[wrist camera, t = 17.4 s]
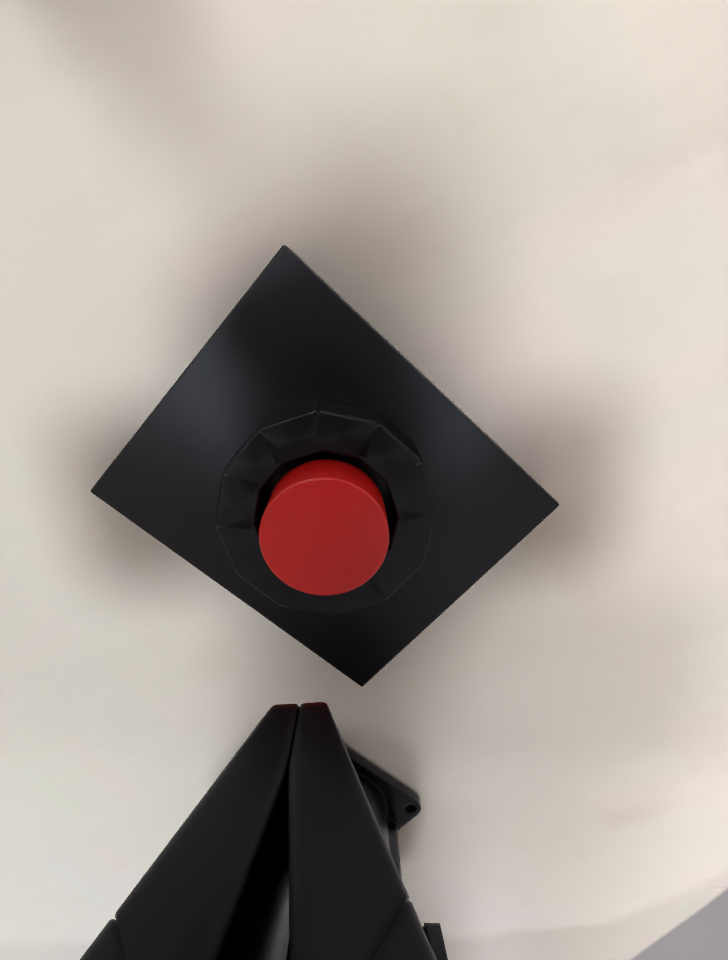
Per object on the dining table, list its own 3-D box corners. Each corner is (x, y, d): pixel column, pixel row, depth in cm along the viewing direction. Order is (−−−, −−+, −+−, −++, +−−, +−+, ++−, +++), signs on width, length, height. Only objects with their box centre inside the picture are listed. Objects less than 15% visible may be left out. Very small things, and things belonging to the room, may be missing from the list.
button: (409, 509, 16) (416, 534, 14) (332, 587, 17) (330, 618, 15) (320, 434, 15) (316, 450, 14) (243, 519, 16) (231, 544, 14)
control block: (543, 487, 19) (583, 527, 16) (361, 658, 22) (363, 724, 18) (290, 248, 16) (275, 237, 13) (111, 474, 19) (60, 512, 15)
